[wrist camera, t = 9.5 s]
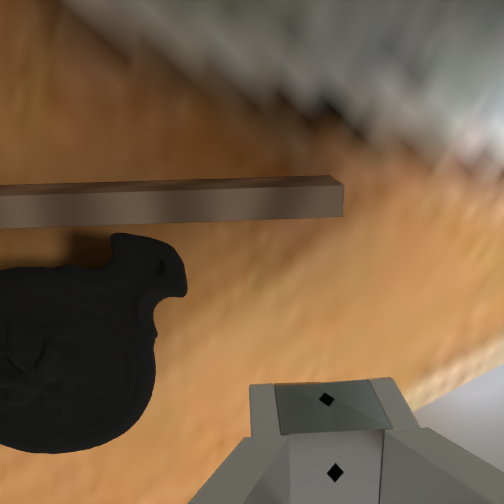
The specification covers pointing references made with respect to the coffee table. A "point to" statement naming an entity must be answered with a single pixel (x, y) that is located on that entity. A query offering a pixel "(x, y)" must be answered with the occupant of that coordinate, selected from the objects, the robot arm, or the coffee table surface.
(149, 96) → the coffee table surface
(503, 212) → the coffee table surface
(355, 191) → the coffee table surface
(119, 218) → the bracket
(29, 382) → the oil lamp
